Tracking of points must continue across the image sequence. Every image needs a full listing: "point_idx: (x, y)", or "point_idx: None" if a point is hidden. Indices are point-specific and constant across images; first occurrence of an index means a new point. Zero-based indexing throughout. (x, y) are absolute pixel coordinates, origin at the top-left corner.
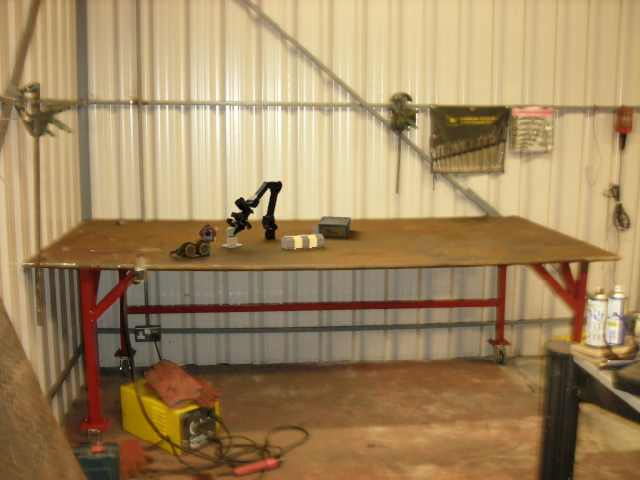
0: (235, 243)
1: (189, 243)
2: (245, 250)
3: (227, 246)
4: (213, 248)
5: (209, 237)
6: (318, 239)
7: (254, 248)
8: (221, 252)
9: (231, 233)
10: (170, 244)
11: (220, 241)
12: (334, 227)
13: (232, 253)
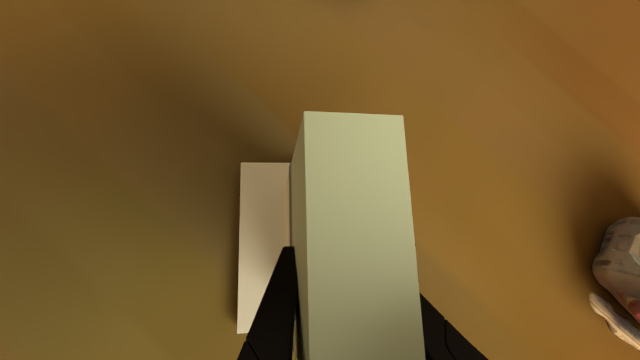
0: None
1: None
2: (47, 193)
3: (289, 163)
4: (350, 75)
5: (631, 254)
6: None
7: (26, 341)
8: (183, 4)
9: (294, 205)
10: (619, 8)
11: (535, 310)
12: None
13: (67, 23)
